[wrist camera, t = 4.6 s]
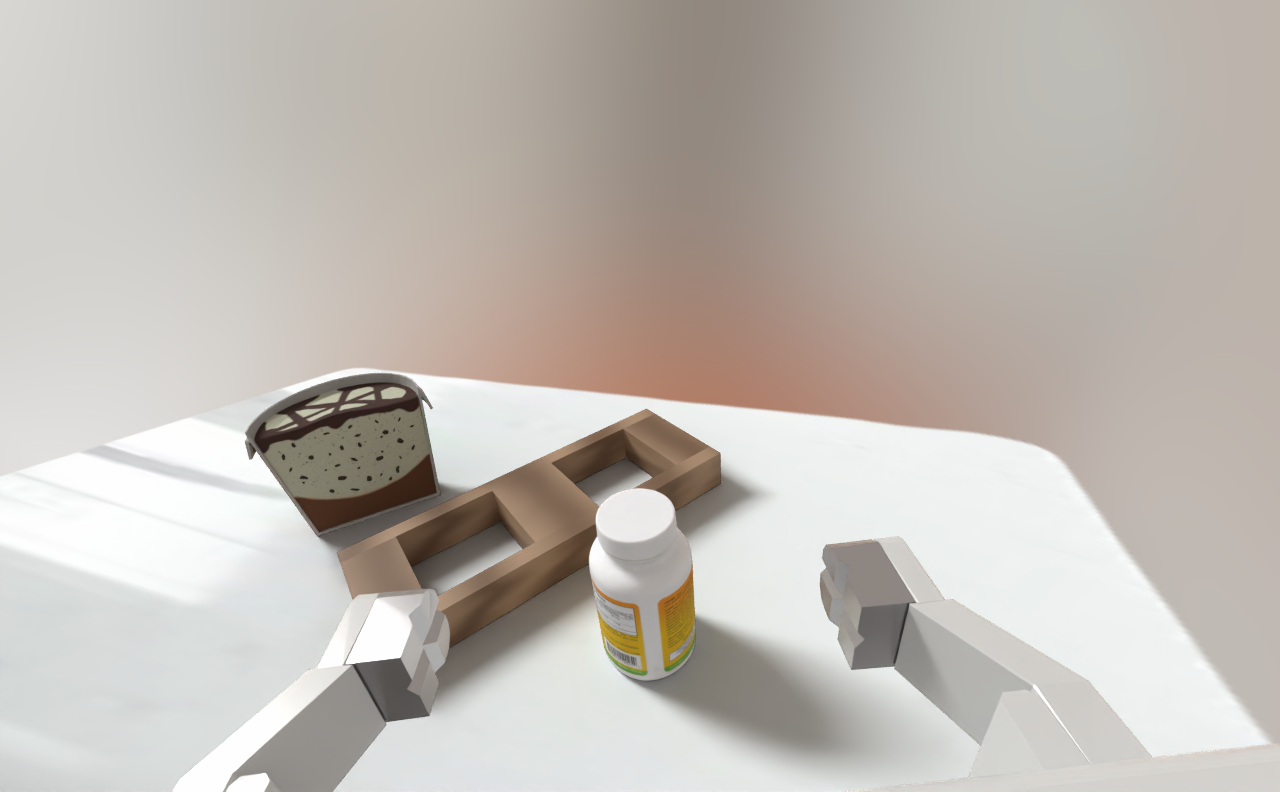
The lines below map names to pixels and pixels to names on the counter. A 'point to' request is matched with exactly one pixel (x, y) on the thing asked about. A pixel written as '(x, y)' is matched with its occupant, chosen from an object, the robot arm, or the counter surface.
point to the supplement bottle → (643, 584)
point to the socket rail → (531, 520)
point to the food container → (348, 448)
